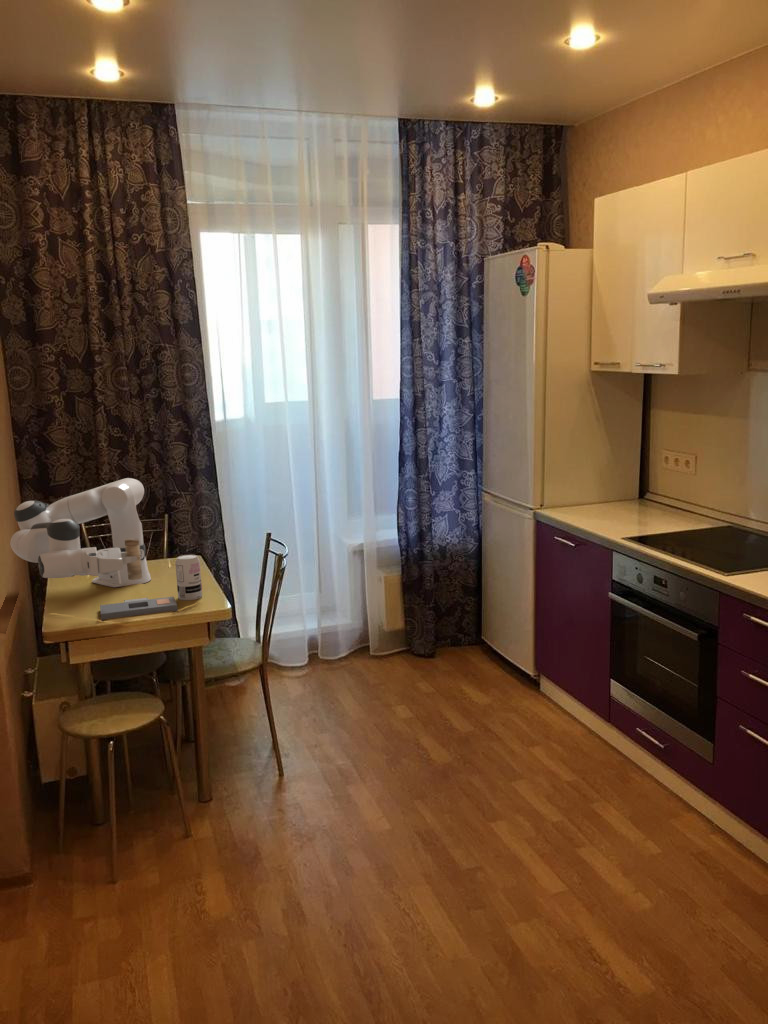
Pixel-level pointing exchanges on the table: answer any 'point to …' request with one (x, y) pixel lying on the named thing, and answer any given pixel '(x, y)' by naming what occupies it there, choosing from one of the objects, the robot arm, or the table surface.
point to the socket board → (138, 607)
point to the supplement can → (188, 577)
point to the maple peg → (133, 567)
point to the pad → (135, 599)
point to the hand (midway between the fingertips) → (136, 556)
